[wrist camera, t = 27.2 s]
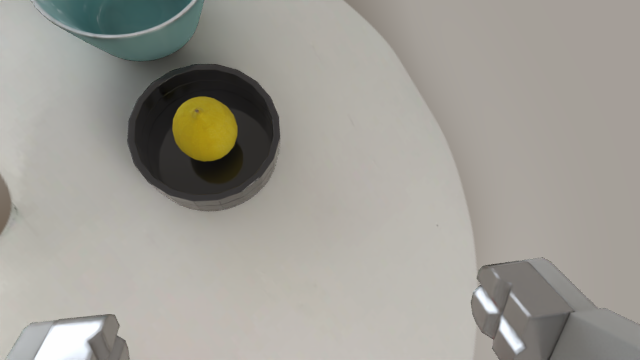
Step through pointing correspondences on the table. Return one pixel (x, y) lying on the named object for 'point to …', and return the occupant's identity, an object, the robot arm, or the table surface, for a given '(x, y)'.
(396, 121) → the table surface
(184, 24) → the bowl
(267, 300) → the table surface
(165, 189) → the pan
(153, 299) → the table surface
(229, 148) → the fruit
